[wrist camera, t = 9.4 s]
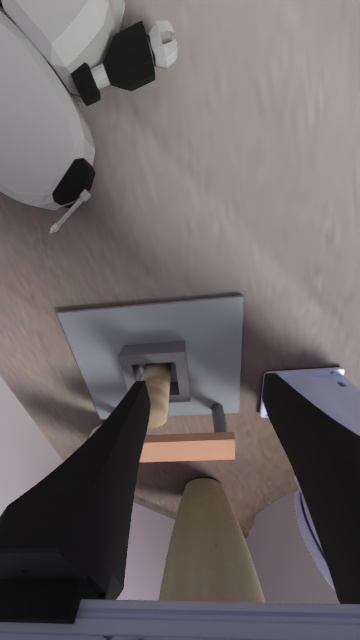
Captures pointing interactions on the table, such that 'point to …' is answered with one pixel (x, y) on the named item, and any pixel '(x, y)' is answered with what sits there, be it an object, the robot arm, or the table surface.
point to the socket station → (159, 347)
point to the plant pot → (208, 550)
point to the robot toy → (64, 90)
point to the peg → (157, 391)
